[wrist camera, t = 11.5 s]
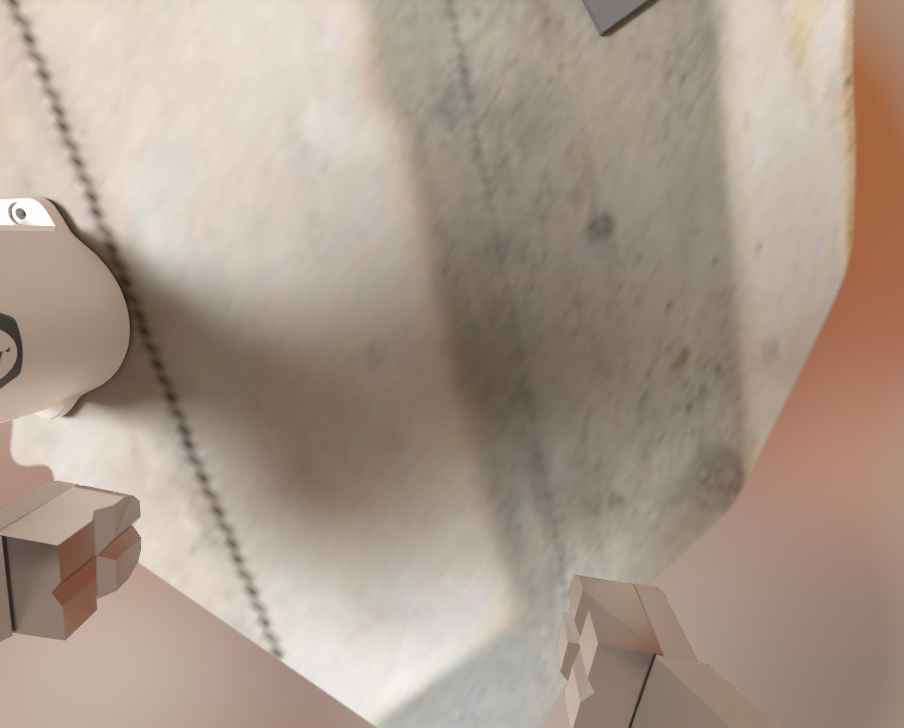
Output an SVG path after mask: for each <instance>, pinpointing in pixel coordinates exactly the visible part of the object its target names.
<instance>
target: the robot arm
mask: <svg viewBox="0 0 904 728" xmlns="http://www.w3.org/2000/svg"><path fill="white" fill-rule="evenodd" d="M24 211H25V213H26V217H25V215H24ZM129 337H130V322H129V315H128V310H127V306H126V302H125V299H124V296H123V294H122V291H121V289H120V287H119V285H118V283H117V281H116V280H115V278H114V276H113V275H112V273H111V272H110V270H109V269H108V268H107V266H106V265H105V264H104V263H103V262H102V260H101V259H100V258H99V257H98V256H97V255H96V254H95V253H94V252H93V251H92V250H90V249H89V248H88V247H87V246H86V245H84V244H83V243H82V242H81V241H80V240H79V239H77V238H76V237H75V236H74V235H73V233H72V232H71V231H70V230H69V228H68V226H67V224H66V223H65V221H64V219H63V218H62V216H61V215H60V213H59V212H58V210H57V209H56V208H55V206H54V205H53V204H52V203H51V202H50V201H48V200H47V199H45V198H41V197H30V198H9V199H0V424H1V423H4V422H7V421H10V420H14V419H17V418H20V417H23V416H27V415H30V414H35V415H37V416H40V417H43V418H46V419H54V418H57V417H61V416H64V415H65V414H67V413H68V412H69V411H70V410H71V409H72V407H73V406H74V405H75V403H76V402H77V400H78V399H79V397H80V396H82V395H83V394H85V393H87V392H89V391H91V390H93V389H95V388H97V387H99V386H101V385H102V384H104V383H105V382H107V381H108V380H109V379H110V378H111V377H112V376H113V375H114V374H115V373H116V371H117V370H118V369H119V367H120V366H121V364H122V362H123V360H124V358H125V355H126V352H127V349H128V344H129ZM140 517H141V516H140V502H139V500H138V499H137V498H135V497H134V496H133V495H128V494H123V493H118V492H113V491H108V490H103V489H98V488H93V487H88V486H80V485H77V484H72V483H67V482H61V481H50V482H45V483H43V484H42V485H40V486H38V487H36V488H34V489H33V490H31V491H29V492H27V493H25V494H24V495H22V496H20V497H18V498H16V499H15V500H13V501H11V502H9V503H8V504H6V505H4V506H2V507H1V508H0V642H1V641H2V640H5V639H7V638H9V637H11V636H12V635H13V633H19V634H26V635H32V636H39V637H45V638H52V639H58V640H66V639H67V638H68V637H69V636H70V635H71V634H72V633H73V632H74V631H75V630H77V629H78V627H80V626H81V625H82V624H83V623H84V622H85V621H86V620H87V619H88V618H89V617H90V616H91V615H92V614H93V613H94V612H95V611H96V610H97V606H98V598H100V597H103V596H105V595H108V594H110V593H112V592H115V591H117V590H118V589H119V588H120V587H121V586H122V585H123V584H124V583H125V582H126V581H127V580H128V579H129V577H130V575H131V574H132V572H133V570H134V568H135V566H136V565H137V563H138V560H139V555H140V551H141V537H140V535H139V534H138V533H137V531H136V530H135V528H134V527H133V525H134V523H135V522H136V521H137V520H138V519H139V518H140ZM568 596H569V600H570V605H571V607H570V608H569V609H568V610H566V611H565V612H564V613H562V618H561V622H560V626H559V634H558V660H559V667H560V672H561V673H562V674H563V676H564V677H565V678H566V679H567V680H568V684H567V687H566V691H565V695H564V696H565V702H566V708H567V713H568V719H569V725H570V728H782V727H781V726H779V725H778V724H777V723H776V722H775V721H773V720H772V719H771V718H770V717H769V716H768V715H766V714H765V713H764V712H763V711H762V710H761V709H759V708H758V707H757V706H756V705H755V704H754V703H752V702H751V701H750V700H749V699H748V698H747V697H745V696H744V695H743V694H742V693H741V692H740V691H738V690H737V689H736V688H735V687H734V686H733V685H732V684H730V683H729V682H728V681H727V680H726V679H725V678H723V677H722V676H721V675H720V674H719V673H717V672H716V671H715V670H714V669H713V668H711V667H710V666H709V665H708V664H703V663H699V662H698V660H697V658H696V656H695V654H694V652H693V650H692V648H691V646H690V644H689V642H688V640H687V638H686V636H685V634H684V632H683V630H682V628H681V626H680V624H679V623H678V620H677V618H676V616H675V614H674V612H673V610H672V608H671V606H670V604H669V603H668V601H667V599H666V597H665V595H664V593H663V591H661V590H660V589H659V588H658V587H653V586H646V585H639V584H632V583H630V584H626V583H620V582H615V581H609V580H603V579H597V578H591V577H585V576H579V575H574V577H573V579H572V581H571V584H570V587H569V591H568Z"/></svg>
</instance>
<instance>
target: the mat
mask: <svg viewBox="0 0 904 728" xmlns="http://www.w3.org/2000/svg"><path fill="white" fill-rule="evenodd" d="M582 1H583V2H584V4H585V6H586V8H587V10H588V12H589V14H590V16H591V18H592V20H593V22H594V24H595V26H596V28H597V30H598V31H599V33H600V35H602V34H604V33H605V32H606V31H608V30H609V29H610V28H612V27H613V26H615V25H616V24H617V23H619V22H620V21H622V20H623V19H624V18H626V17H627V16H629V15H630V14H631V13H633V12H634V11H635V10H637V9H638V8H640V7H641V6H642V5H644V4H645V3H647V2H648V1H649V0H582Z"/></svg>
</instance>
